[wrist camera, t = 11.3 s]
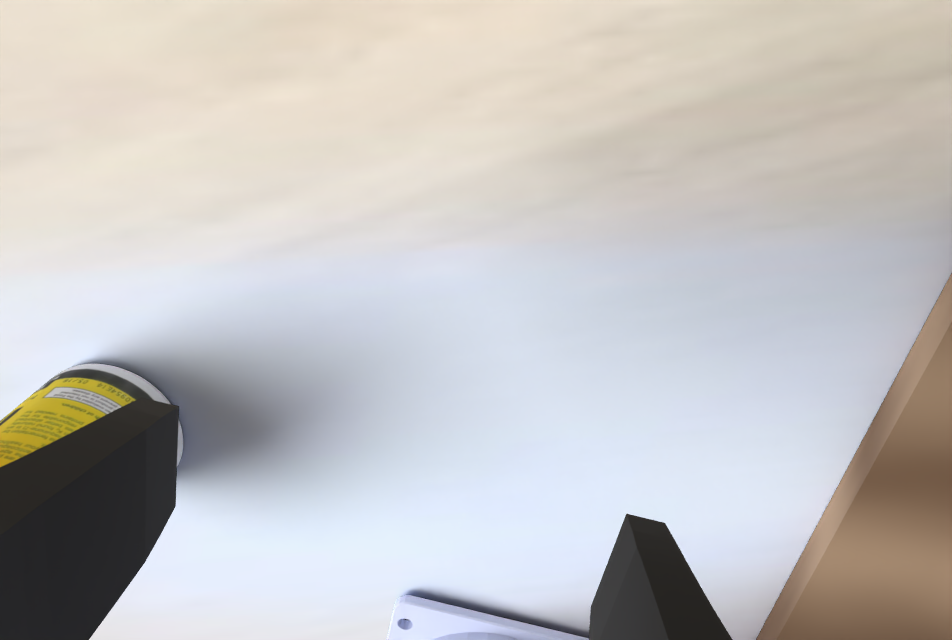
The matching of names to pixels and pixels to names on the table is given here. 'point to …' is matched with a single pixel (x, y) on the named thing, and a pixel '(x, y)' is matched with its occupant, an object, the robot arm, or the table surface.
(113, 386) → the supplement bottle
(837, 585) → the lens collar
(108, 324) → the table surface
